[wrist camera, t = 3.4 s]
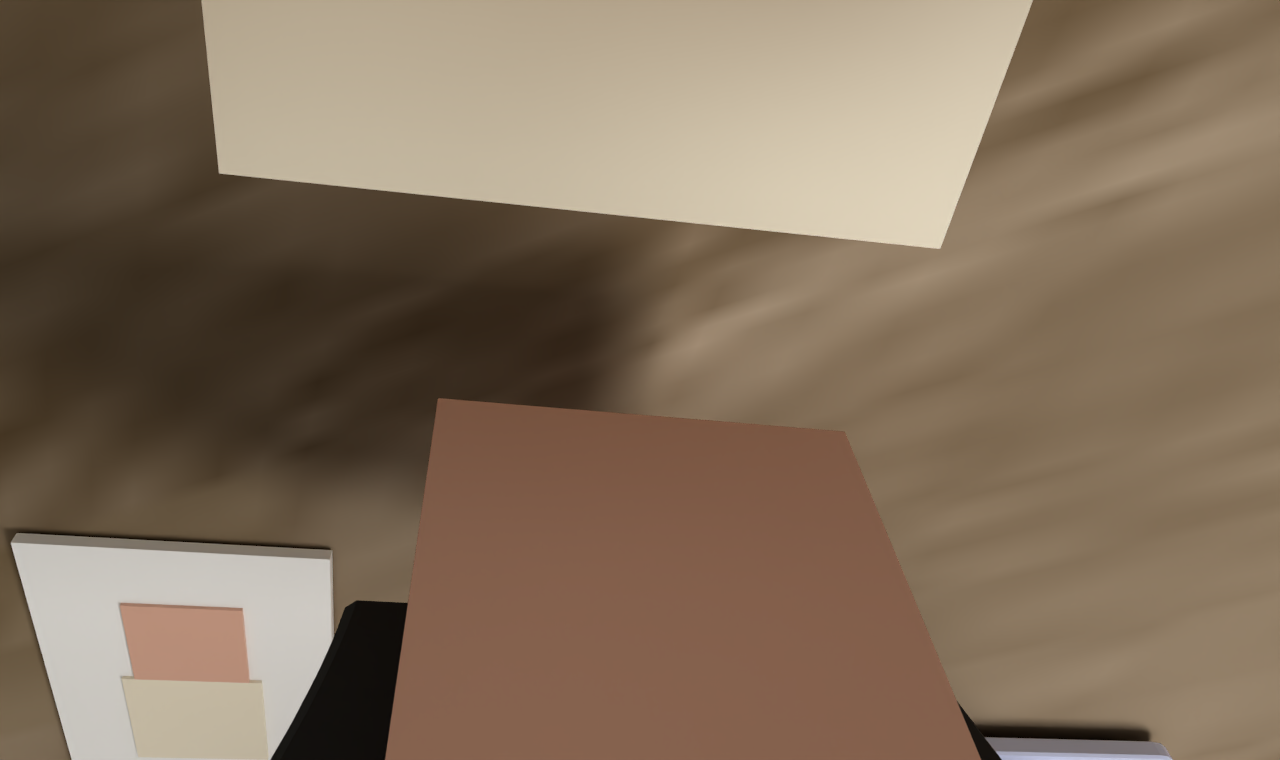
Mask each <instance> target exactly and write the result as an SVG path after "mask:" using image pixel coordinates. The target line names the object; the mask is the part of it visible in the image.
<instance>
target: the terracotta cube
mask: <svg viewBox="0 0 1280 760" xmlns="http://www.w3.org/2000/svg"><path fill="white" fill-rule="evenodd" d="M385 760H981V758H980V756H979V753H978V751H977V748H976V746H975V744H974V741H973V739H972V736H971V734H970V732H969V729H968V727H967V724H966V722H965V720H964V717H963V715H962V712H961V710H960V708H959V705H958V703H957V700H956V698H955V696H954V693H953V691H952V688H951V686H950V684H949V681H948V679H947V676H946V674H945V672H944V669H943V667H942V664H941V662H940V660H939V657H938V655H937V652H936V650H935V648H934V645H933V643H932V640H931V638H930V636H929V633H928V631H927V628H926V626H925V624H924V621H923V619H922V616H921V614H920V612H919V609H918V607H917V604H916V602H915V600H914V597H913V595H912V592H911V590H910V588H909V585H908V583H907V580H906V578H905V576H904V573H903V571H902V568H901V566H900V563H899V561H898V559H897V556H896V554H895V551H894V549H893V547H892V544H891V542H890V539H889V537H888V535H887V532H886V530H885V527H884V525H883V523H882V520H881V518H880V515H879V513H878V511H877V508H876V506H875V503H874V501H873V499H872V496H871V494H870V491H869V489H868V487H867V484H866V482H865V479H864V477H863V475H862V472H861V470H860V467H859V465H858V463H857V460H856V458H855V455H854V453H853V451H852V448H851V446H850V443H849V441H848V439H847V436H846V434H845V432H843V431H831V430H819V429H807V428H795V427H783V426H771V425H758V424H746V423H734V422H722V421H710V420H698V419H685V418H673V417H661V416H649V415H637V414H625V413H613V412H600V411H588V410H576V409H564V408H552V407H540V406H527V405H515V404H503V403H491V402H479V401H467V400H455V399H442V398H438V402H437V409H436V415H435V422H434V429H433V436H432V443H431V450H430V456H429V463H428V470H427V477H426V484H425V491H424V497H423V504H422V511H421V518H420V525H419V532H418V538H417V545H416V552H415V559H414V566H413V573H412V579H411V586H410V593H409V600H408V607H407V614H406V620H405V627H404V634H403V641H402V648H401V655H400V661H399V668H398V675H397V682H396V689H395V696H394V702H393V709H392V716H391V723H390V730H389V737H388V743H387V750H386V757H385Z"/></svg>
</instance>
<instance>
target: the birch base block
mask: <svg viewBox="0 0 1280 760" xmlns="http://www.w3.org/2000/svg"><path fill="white" fill-rule="evenodd" d="M201 1H202V11H203V21H204V30H205V40H206V50H207V60H208V70H209V80H210V90H211V99H212V109H213V119H214V129H215V139H216V149H217V158H218V168H219V173H220V174H229V175H239V176H248V177H258V178H267V179H277V180H287V181H296V182H306V183H315V184H325V185H334V186H344V187H353V188H363V189H373V190H382V191H392V192H401V193H411V194H420V195H430V196H440V197H449V198H459V199H468V200H478V201H487V202H497V203H506V204H516V205H526V206H535V207H545V208H554V209H564V210H573V211H583V212H593V213H602V214H612V215H621V216H631V217H640V218H650V219H660V220H669V221H679V222H688V223H698V224H707V225H717V226H726V227H736V228H746V229H755V230H765V231H774V232H784V233H793V234H803V235H813V236H822V237H832V238H841V239H851V240H860V241H870V242H880V243H889V244H899V245H908V246H918V247H927V248H937V249H940V248H941V245H942V243H943V240H944V237H945V235H946V232H947V229H948V226H949V224H950V221H951V218H952V216H953V213H954V210H955V208H956V205H957V202H958V200H959V197H960V194H961V192H962V189H963V186H964V184H965V181H966V178H967V176H968V173H969V170H970V168H971V165H972V162H973V159H974V157H975V154H976V151H977V149H978V146H979V143H980V141H981V138H982V135H983V133H984V130H985V127H986V125H987V122H988V119H989V117H990V114H991V111H992V109H993V106H994V103H995V101H996V98H997V95H998V92H999V90H1000V87H1001V84H1002V82H1003V79H1004V76H1005V74H1006V71H1007V68H1008V66H1009V63H1010V60H1011V58H1012V55H1013V52H1014V50H1015V47H1016V44H1017V42H1018V39H1019V36H1020V34H1021V31H1022V28H1023V26H1024V23H1025V20H1026V17H1027V15H1028V12H1029V9H1030V7H1031V4H1032V1H1033V0H201Z"/></svg>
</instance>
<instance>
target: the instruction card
mask: <svg viewBox="0 0 1280 760" xmlns="http://www.w3.org/2000/svg"><path fill="white" fill-rule="evenodd" d="M11 546H12V549H13V553H14V557H15V560H16V564H17V567H18V571H19V574H20V578H21V581H22V585H23V588H24V592H25V596H26V599H27V603H28V606H29V610H30V613H31V617H32V620H33V624H34V628H35V631H36V635H37V638H38V642H39V645H40V649H41V652H42V656H43V660H44V663H45V667H46V670H47V674H48V677H49V681H50V684H51V688H52V691H53V695H54V699H55V702H56V706H57V709H58V713H59V716H60V720H61V723H62V727H63V731H64V734H65V738H66V741H67V745H68V748H69V752H70V755H71V759H72V760H271V758H272V756H273V754H274V753H275V751H276V749H277V747H278V746H279V744H280V742H281V741H282V739H283V737H284V735H285V734H286V732H287V730H288V729H289V727H290V725H291V723H292V721H293V719H294V717H295V716H296V714H297V712H298V710H299V708H300V706H301V704H302V702H303V700H304V699H305V697H306V695H307V693H308V691H309V689H310V687H311V685H312V683H313V681H314V679H315V677H316V675H317V673H318V671H319V669H320V667H321V665H322V663H323V660H324V658H325V656H326V654H327V652H328V649H329V647H330V645H331V643H332V640H333V638H334V619H333V562H332V550H320V549H301V548H283V547H265V546H247V545H228V544H210V543H192V542H174V541H155V540H137V539H119V538H101V537H82V536H64V535H46V534H28V533H16V535H15V536H14V538H13V540H12V541H11Z"/></svg>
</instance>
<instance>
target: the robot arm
mask: <svg viewBox="0 0 1280 760" xmlns="http://www.w3.org/2000/svg"><path fill="white" fill-rule="evenodd" d="M407 607H408V603H396V602H376V601H355V602H354V603H352V604H350V605H349V606H347V607H346V608H345V610H344V612H343V615H342V618H341V620H340V623H339V626H338V629H337V631H336V633H335V636H334V638H333V640H332V643H331V645H330V647H329V649H328V652H327V654H326V656H325V658H324V660H323V663H322V665H321V667H320V669H319V671H318V673H317V675H316V677H315V679H314V681H313V683H312V685H311V687H310V689H309V691H308V693H307V695H306V697H305V699H304V700H303V702H302V704H301V706H300V708H299V710H298V712H297V714H296V716H295V717H294V719H293V721H292V723H291V725H290V727H289V729H288V730H287V732H286V734H285V735H284V737H283V739H282V741H281V742H280V744H279V746H278V747H277V749H276V751H275V753H274V754H273V756H272V758H271V760H385V757H386V750H387V743H388V737H389V730H390V723H391V716H392V709H393V702H394V696H395V689H396V682H397V675H398V668H399V661H400V655H401V648H402V641H403V634H404V627H405V620H406V614H407ZM957 703H958V702H957ZM958 705H959V708H960V710H961V712H962V715H963V717H964V720H965V722H966V724H967V727H968V729H969V732H970V734H971V736H972V739H973V741H974V744H975V746H976V748H977V751H978V753H979V756H980V758H981V760H1173V759H1172V758H1171V756H1170V754H1169V753H1168V751H1167V749H1166V748H1165V746H1163V745H1162V744H1161V743H1157V742H1151V741H1115V740H1077V739H1038V738H1000V737H984V736H983V735H982V733H981V732H980V731H979V729H978V728H977V727H976V725H975V724H974V723H973V722H972V720H971V719H970V718H969V716H968V715H967V714H966V712H965V711H964V710H963V708H962V707H961V706H960V704H959V703H958Z"/></svg>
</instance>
